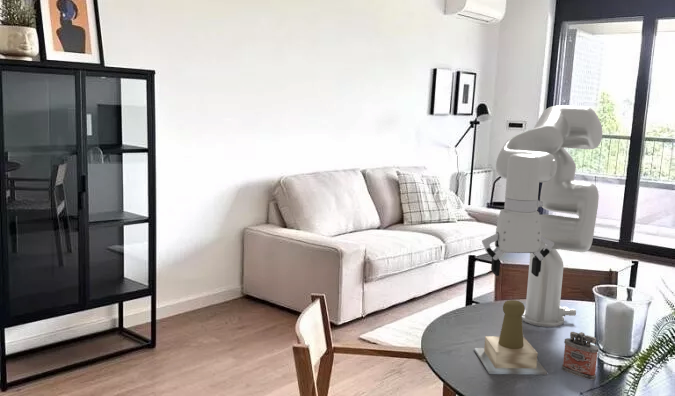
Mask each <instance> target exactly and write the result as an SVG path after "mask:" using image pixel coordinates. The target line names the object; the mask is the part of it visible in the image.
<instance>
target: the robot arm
mask: <svg viewBox="0 0 675 396" xmlns="http://www.w3.org/2000/svg"><path fill="white" fill-rule="evenodd" d="M602 126H603V125H602V124H601V121H600V119H599V116H598V115H597V113H596V111H594V110H593V109H592V108H591V107H588V106H583V105H582V106H576V105H575V106H574V105H554V106H553V105H552V106H549V107H548V108H546V109H545V110H543V111H542V113H541V115H540V116H539V118H538V120H537V122H536V124H535V125H534V127H533V128H532V129H528V130H525V131H524V132H521V133H518V134H516V135H514V136H512V137H510V138H509V139H508V140H507V141H506V142H505V143H504V144H503V146H502V148H501V150H500V152H499V153H498V155H497V157H496V161H495V168H496V173H497V175H498V176H499V177H500V178H502V179H503V180H504V179H505V180H506V181H505V182H506V183H505V191H504V192H505V193H504V194H505V195H504V206H503V207H504V209H500V211H499V215H498V218H497V223H496V229H495V233H494V234H493V235H490V236H488V237H486V238H484V239H482V240H481V243H482V246H483V248H484V250H485V252H486V253H487V254H488V256H490V257H491V267H490V269H491V270H490V271H491V272H492V273H493V275H494V276H496V277H499V276H500V271H501V270H500V268H501V260H500V257H501V256H502V255H503V254H504V253H507V254H529V261H528V263H529V264H528V278H527V289H526V298H525V300H526V301H525V311H524V314H523V315H522V322H524V323H527V324H530V325H533V326H536V327H537V326H539V327H543V328H544V327H547V328H554V327H556V328H557V327H559V326H562V325H563V324H564V323H565V317H566V316H575V317H576V316H577V315H576V314H577V311H576V309H575V308H568V306H561V297H562V289H563V288H562V285H563V277H564V276H563V274H564V261H563V258H562V256H561V255H560V253H559V252H558V250H561V251H567V252H576V253H585V252H587V251H589V250H590V249H591V246H592V244H593V239H594V233H595V228H596V220H597V215H598V209H599V208H598V207H599V198H600V197H599V196H600V195H599V190H598V188H597V186H596V185H595V184H594V183H591V182H586V181H579V180H578V181H577V180H575V175H576V170H577V169H576V168H577V166H576V163H575V161H574V159H573V157H572V155H570V153H569V152H568V151H567V150H566V149H579V150H595V149H597V148H598V147H599V146H600V145H601V141H602V139H603V128H602ZM540 183H542V185H541V190H540V198H539V189H540ZM539 208H543V210H546V211H549V212H555V213H561V214H562V213H563V214H569V215H570V214H571V215H576V216H578V217H571V216H570V217H569V216H563V215H555V214H546V213H545V214H540V212H539V211H538V210H539ZM492 243H494V246H495V248H494V249H492V248H491V244H492Z"/></svg>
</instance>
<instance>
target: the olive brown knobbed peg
mask: <svg viewBox="0 0 675 396" xmlns="http://www.w3.org/2000/svg"><path fill="white" fill-rule="evenodd" d="M525 310H526V305H524V303H523V302H522V301H519V300H514V299H509V300H506V301H505V302H503V305H502V311H503V313H504V317H503V320H502V325H501V329H500V330H501V331H500V334H499V337H500V338H499V342H498V343H499V345H501V346H503V347H505V348H509V349H520V348H522V347H523V346H524V344H523V337H524V330H523V328H524V327H523V320H522V315H523V314H524V311H525Z"/></svg>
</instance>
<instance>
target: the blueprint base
mask: <svg viewBox="0 0 675 396" xmlns="http://www.w3.org/2000/svg"><path fill="white" fill-rule="evenodd" d="M499 338H500V336H493V335H491V336H484V347H474V349H473V350H474V352H475V354H476V356H477V358H478V359H479V360H480V361H481V363H482V364H483V367H484V368H485V369H486V371H487V373H488V375H546V376H547V375H548V370H546V369H545V368H544V366H543V365H542V364H541V362H540V361H539V360H538V351H537V350H536V349H535V348H534V347H533V345H532V344H531V343H530V342H529V341H528V340H527V339H526V337H525V336H523V344H524V346H523V347H522V348H520V349H509V348H505V347H503V346H501V345H499V343H498V342H499Z"/></svg>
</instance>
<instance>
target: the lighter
mask: <svg viewBox="0 0 675 396" xmlns="http://www.w3.org/2000/svg"><path fill="white" fill-rule="evenodd" d="M596 343H597V337H595V336H592V335H588V334H585V333H584V332H583V331H582V332H579V333H578V332H575V331H570V335H569V338H568V337H567V338H564V352H563V362H562V365H561V370H562V371H564V372H566V373H568V374H572V375H573V376H576V377H578V378H579V377H580V378H583V379H586V380H592V381H593V380H596V378H597V376H596V370H597V369H596V368H597V361H598V359H597V358H598V353H599V346H596V345H594V344H596Z"/></svg>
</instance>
